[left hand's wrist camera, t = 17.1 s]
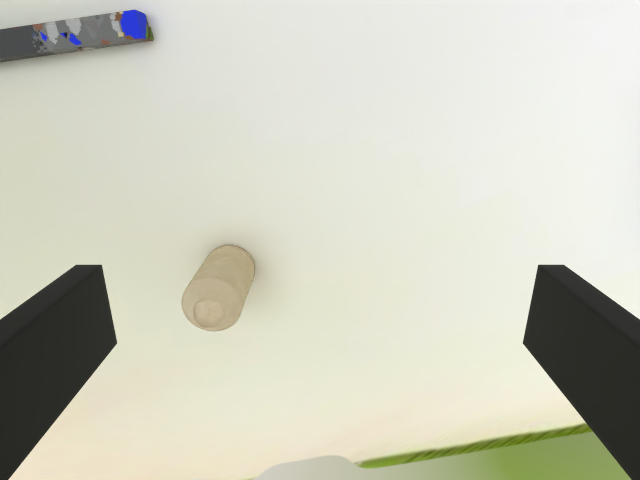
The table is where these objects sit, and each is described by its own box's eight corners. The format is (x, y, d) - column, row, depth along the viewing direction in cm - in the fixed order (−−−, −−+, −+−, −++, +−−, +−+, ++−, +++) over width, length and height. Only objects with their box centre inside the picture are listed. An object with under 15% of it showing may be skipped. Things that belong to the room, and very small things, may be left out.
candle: (205, 242, 45) (174, 283, 36) (255, 246, 45) (239, 288, 36) (205, 288, 47) (177, 338, 37) (254, 291, 47) (238, 342, 38)
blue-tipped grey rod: (-84, 41, 36) (138, 9, 35) (-63, 44, 38) (148, 13, 37) (-73, 68, 37) (145, 37, 36) (-52, 69, 39) (155, 39, 38)
